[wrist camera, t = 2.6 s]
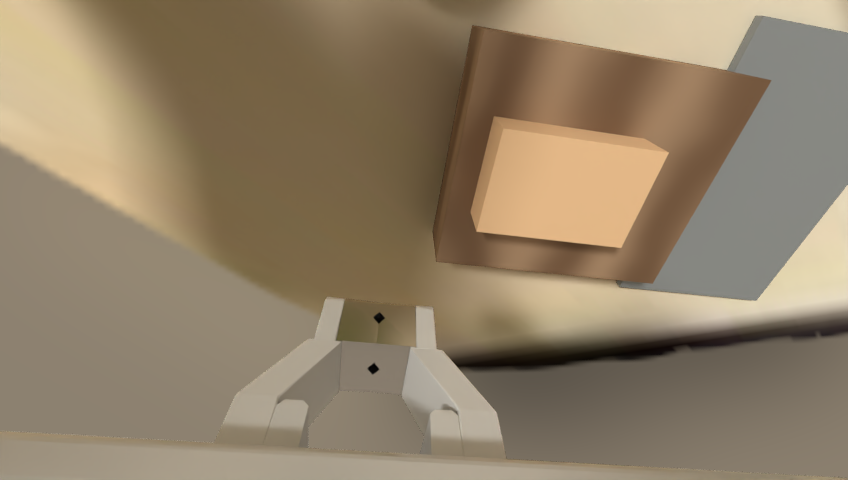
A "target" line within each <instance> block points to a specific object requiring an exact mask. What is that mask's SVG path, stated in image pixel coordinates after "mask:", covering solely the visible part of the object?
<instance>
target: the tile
mask: <svg viewBox="0 0 848 480" xmlns="http://www.w3.org/2000/svg"><path fill="white" fill-rule="evenodd" d="M668 154H669V152H667V151H665V150H663V149H662V148H660V147H658V146H657V145H655V144H653V143H651V142H650V141H648V140H646V139H643V138H636V137H630V136H623V135H616V134H610V133H603V132H596V131H590V130H583V129H576V128H570V127H563V126H556V125H550V124H543V123H536V122H530V121H523V120H516V119H509V118H503V117H496V116H494V118H493V122H492V126H491V130H490V134H489V138H488V142H487V147H486V151H485V155H484V159H483V163H482V167H481V171H480V175H479V179H478V183H477V188H476V192H475V196H474V200H473V204H472V208H471V216H472V219H473V222H474V225H475V228H476V232H484V233H493V234H502V235H510V236H519V237H528V238H537V239H546V240H555V241H564V242H573V243H581V244H590V245H599V246H608V247H617V248H621V247H622V245H623V243H624V241H625V239H626V237H627V235H628V233H629V231H630V229H631V227H632V225H633V223H634V221H635V219H636V218H637V216H638V214H639V212H640V210H641V208H642V206H643V204H644V202H645V200H646V198H647V196H648V194H649V192H650V190H651V188H652V186H653V184H654V182H655V180H656V178H657V176H658V174H659V172H660V170H661V168H662V166H663V164H664V162H665V160H666V158H667V156H668Z"/></svg>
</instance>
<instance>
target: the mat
mask: <svg viewBox="0 0 848 480" xmlns="http://www.w3.org/2000/svg"><path fill="white" fill-rule="evenodd" d="M727 71H731V72H736V73H741V74H745V75H750V76H755V77H759V78H764V79H768V80H772V81H771V82H770V84H769V86H768V88H767V89H766V91H765V93H764V94H763V96H762V98H761V100H760V101H759V103H758V105H757V106H756V108H755V110H754V111H753V113H752V115H751V117H750V118H749V120H748V122H747V123H746V125H745V127H744V129H743V130H742V132H741V134H740V135H739V137H738V139H737V141H736V142H735V144H734V146H733V147H732V149H731V151H730V152H729V154H728V156H727V158H726V159H725V161H724V163H723V164H722V166H721V168H720V170H719V171H718V173H717V175H716V176H715V178H714V180H713V182H712V183H711V185H710V187H709V188H708V190H707V192H706V193H705V195H704V197H703V199H702V200H701V202H700V204H699V205H698V207H697V209H696V211H695V212H694V214H693V216H692V217H691V219H690V221H689V223H688V224H687V226H686V228H685V229H684V231H683V233H682V234H681V236H680V238H679V240H678V241H677V243H676V245H675V246H674V248H673V250H672V252H671V253H670V255H669V257H668V258H667V260H666V262H665V264H664V265H663V267H662V269H661V270H660V272H659V274H658V275H657V277H656V279H655V281H654V282H653V284H651V283H641V282H631V281H622V280H618V281H617V282H616V283H617V284H618V285H619V287H625V288H635V289H645V290H655V291H665V292H675V293H685V294H695V295H705V296H715V297H725V298H735V299H745V300H755V301H756V300H757V299H758V298H759V297H760V295H761V294H762V293H763V292H764V290H765V289H766V288H767V286H768V285H769V284H770V283H771V281H772V280H773V279H774V278H775V276H776V275H777V274H778V272H779V271H780V270H781V269H782V267H783V266H784V265H785V264H786V262H787V261H788V260H789V258H790V257H791V256H792V255H793V253H794V252H795V251H796V250H797V248H798V247H799V246H800V244H801V243H802V242H803V241H804V239H805V238H806V237H807V236H808V234H809V233H810V232H811V230H812V229H813V228H814V227H815V225H816V224H817V223H818V222H819V220H820V219H821V218H822V216H823V215H824V214H825V213H826V211H827V210H828V209H829V208H830V206H831V205H832V204H833V202H834V201H835V200H836V199H837V197H838V196H839V195H840V194H841V192H842V191H843V190H844V188H845V187H846V186H847V185H848V33H847V32H842V31H836V30H831V29H826V28H821V27H816V26H811V25H806V24H801V23H796V22H791V21H786V20H781V19H776V18H771V17H766V16H755V18H754V20H753V22H752V24H751V26H750V28H749V30H748V32H747V34H746V36H745V37H744V39H743V41H742V43H741V45H740V47H739V49H738V51H737V53H736V55H735V57H734V59H733V60H732V62H731V64H730V66H729V68H728V70H727Z"/></svg>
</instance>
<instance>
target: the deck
mask: <svg viewBox="0 0 848 480" xmlns="http://www.w3.org/2000/svg"><path fill="white" fill-rule="evenodd" d="M771 81H772V80H768V79H764V78H759V77H755V76H750V75H745V74H741V73H736V72H731V71H727V70H722V69H717V68H711V67H706V66H700V65H694V64H689V63H683V62H677V61H672V60H666V59H660V58H655V57H649V56H644V55H638V54H632V53H627V52H621V51H615V50H610V49H604V48H598V47H593V46H587V45H581V44H576V43H570V42H564V41H559V40H553V39H547V38H542V37H536V36H530V35H525V34H519V33H513V32H508V31H502V30H497V29H491V28H485V27H480V26H474V25H472V29H471V34H470V40H469V45H468V50H467V55H466V61H465V66H464V71H463V76H462V81H461V87H460V92H459V97H458V102H457V107H456V113H455V118H454V123H453V128H452V133H451V139H450V144H449V149H448V154H447V160H446V165H445V170H444V175H443V180H442V186H441V191H440V196H439V201H438V206H437V212H436V217H435V222H434V227H433V238H434V247H435V255H436V262H445V263H455V264H465V265H475V266H485V267H494V268H504V269H514V270H524V271H534V272H543V273H553V274H563V275H573V276H582V277H592V278H602V279H612V280H622V281H631V282H641V283H651V284H653V282H654V281H655V279H656V277H657V275H658V274H659V272H660V270H661V269H662V267H663V265H664V264H665V262H666V260H667V258H668V257H669V255H670V253H671V252H672V250H673V248H674V246H675V245H676V243H677V241H678V240H679V238H680V236H681V234H682V233H683V231H684V229H685V228H686V226H687V224H688V223H689V221H690V219H691V217H692V216H693V214H694V212H695V211H696V209H697V207H698V205H699V204H700V202H701V200H702V199H703V197H704V195H705V193H706V192H707V190H708V188H709V187H710V185H711V183H712V182H713V180H714V178H715V176H716V175H717V173H718V171H719V170H720V168H721V166H722V164H723V163H724V161H725V159H726V158H727V156H728V154H729V152H730V151H731V149H732V147H733V146H734V144H735V142H736V141H737V139H738V137H739V135H740V134H741V132H742V130H743V129H744V127H745V125H746V123H747V122H748V120H749V118H750V117H751V115H752V113H753V111H754V110H755V108H756V106H757V105H758V103H759V101H760V100H761V98H762V96H763V94H764V93H765V91H766V89H767V88H768V86H769V84H770V82H771ZM494 116H496V117H503V118H509V119H516V120H523V121H530V122H536V123H543V124H550V125H556V126H563V127H570V128H576V129H583V130H590V131H596V132H603V133H610V134H616V135H623V136H630V137H636V138H643V139H646V140H648V141H650V142H651V143H653V144H655V145H657V146H658V147H660V148H662V149H663V150H665V151H667V152H669V154H668V156H667V158H666V160H665V162H664V164H663V166H662V168H661V170H660V172H659V174H658V176H657V178H656V180H655V182H654V184H653V186H652V188H651V190H650V192H649V194H648V196H647V198H646V200H645V202H644V204H643V206H642V208H641V210H640V212H639V214H638V216H637V218H636V219H635V221H634V223H633V225H632V227H631V229H630V231H629V233H628V235H627V237H626V239H625V241H624V243H623V245H622V247H621V248H617V247H608V246H599V245H590V244H581V243H573V242H564V241H555V240H546V239H537V238H528V237H519V236H510V235H502V234H493V233H484V232H476V228H475V225H474V222H473V219H472V216H471V208H472V204H473V200H474V196H475V192H476V188H477V183H478V179H479V175H480V171H481V167H482V163H483V159H484V155H485V151H486V147H487V142H488V138H489V134H490V130H491V126H492V122H493V118H494Z"/></svg>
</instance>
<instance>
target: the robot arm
mask: <svg viewBox="0 0 848 480" xmlns="http://www.w3.org/2000/svg"><path fill="white" fill-rule="evenodd" d="M339 390H341V391H342V390H343V391H364V392H365V391H366V392H370V391H371V392H377V393H387V394H397V395H402V398H403V400H404V402H405V404H406V406H407V407H408V409H409V411H410V413H411V414H412V416H413V418H414V420H415V421H416V423H417V425H418V427H419V429H420V430H421V432H422V434H423V435H424V439H423V443H422V447H421V451H420V454H407V453H389V452H373V451H354V450H337V449H319V448H308V427H309V426H310V425H311V424H312V423H313V422H314V420H315V419H316V418H317V417H318V416H319V414H320V413H321V412H322V411H323V410H324V409H325V408H326V406H327V405H328V404H329V403H330V402H331V401H332V399H333V398H334V397H335V396H336V395H337V394H338V392H339ZM0 480H848V478H843V477H825V476H806V475H787V474H767V473H750V472H732V471H714V470H696V469H678V468H660V467H642V466H625V465H606V464H589V463H571V462H570V463H569V462H553V461H536V460H535V461H534V460H518V459H507V458H506V453H505V449H504V444H503V440H502V435H501V430H500V425H499V421H498V416H497V412H496V411H495V410H494V409H493V408H492V406H491V405H490V404H489V403H488V402H487V401H486V400H485V398H483V396H482V395H481V394H480V393H479V392H478V390H477V389H476V388H475V387H474V386H473V385H472V383H470V381H469V380H468V379H467V378H466V377H465V376H464V374H463V373H462V372H461V371H460V370H459V369H458V367H457V366H456V365H455V364H454V363H453V362H452V361H451V359H450V358H449V357H448V356H447V355H446V354H445V352H444V351H443V350H437V342H436V330H435V318H434V309H433V307H429V306H416V305H415V306H412V305H401V304H390V303H379V302H371V301H363V300H354V299H343V298H335V297H327V298H326V299H325V302H324V305H323V309H322V312H321V316H320V319H319V323H318V326H317V330H316V333H315V337H314V339H307V340H306V341H305V342H303V343H302V344H301V345H299V346H298V347H297V348H295V349H294V350H293V351H291V352H290V353H289V354H288V355H286V356H285V357H284V358H282V359H281V360H280V361H278V362H277V363H276V364H274V365H273V366H272V367H271V368H269V369H268V370H267V371H265V372H264V373H263V374H261V375H260V376H259V377H258V378H256V379H255V380H254V381H252V382H251V383H250V384H249V385H247V386H246V387H245V388H243V389H242V390H241V391H239V392H238V393H237V394H236V395H235V397H234V400H233V402H232V404H231V406H230V408H229V411H228V413H227V415H226V417H225V419H224V422H223V424H222V426H221V428H220V430H219V433H218V435H217V437H216V439H215V441H214V443H212V442H192V441H175V440H157V439H140V438H122V437H103V436H84V435H68V434H67V435H66V434H50V433H48V434H47V433H32V432H14V431H13V432H12V431H0Z"/></svg>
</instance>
